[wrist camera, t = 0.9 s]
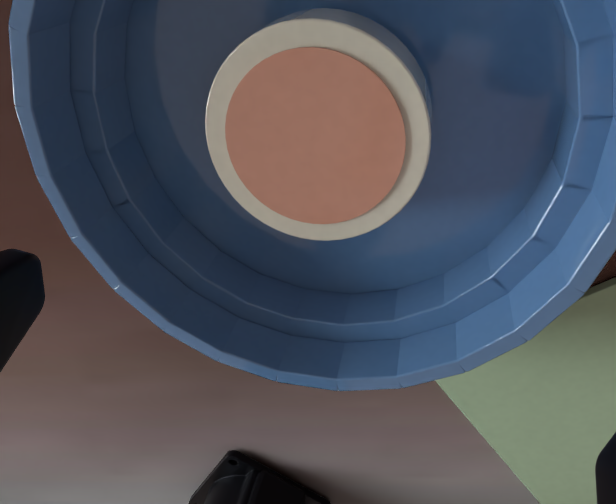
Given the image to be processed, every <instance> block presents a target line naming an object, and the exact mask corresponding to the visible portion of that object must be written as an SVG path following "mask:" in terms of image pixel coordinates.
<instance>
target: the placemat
mask: <svg viewBox="0 0 616 504" xmlns="http://www.w3.org/2000/svg"><path fill="white" fill-rule="evenodd" d="M435 381H436V382H437V383H438V385H439V386H440V387H441V388H442V389H443V390H444V392H445V393H446V394H447V395H448V396H449V397H450V399H451V400H452V401H453V402H454V403H455V404H456V406H457V407H458V408H459V409H460V410H461V411H462V413H463V414H464V415H465V416H466V417H467V418H468V420H469V421H470V422H471V423H472V424H473V425H474V427H475V428H476V429H477V430H478V431H479V433H480V434H481V435H482V436H483V437H484V438H485V440H486V441H487V442H488V443H489V444H490V445H491V447H492V448H493V449H494V450H495V451H496V452H497V454H498V455H499V456H500V457H501V458H502V459H503V461H504V462H505V463H506V464H507V465H508V466H509V468H510V469H511V470H512V471H513V472H514V473H515V475H516V476H517V477H518V478H519V479H520V480H521V482H522V483H523V484H524V485H525V486H526V487H527V489H528V490H529V491H530V492H531V493H532V494H533V496H534V497H535V498H536V499H537V500H538V501H539V503H540V504H597V495H596V477H595V466H596V461H597V458H598V455H599V454H600V452H601V451H602V449H603V448H604V447H605V445H606V444H607V443H608V441H609V440H610V439H611V437H612V436H613V435H614V434H615V432H616V277H615V278H612V279H610V280H608V281H605V282H603V283H601V284H598V285H596V286H594V287H591V288H589V289H588V290H587V292H585V294H584V295H583V296H582V297H581V298H580V299H578V300H577V301H576V302H575V303H574V304H573V305H571V306H570V307H569V308H568V309H567V310H565V311H564V312H563V313H562V314H561V315H560V316H558V317H557V318H556V319H555V320H554V321H552V322H551V323H550V324H549V325H548V326H546V327H545V328H544V329H543V330H542V331H541V332H539V333H538V334H537V335H536V336H535V337H533V338H532V339H531V340H530V341H527V342H526V343H524V344H522V345H520V346H518V347H516V348H514V349H512V350H510V351H508V352H506V353H504V354H502V355H500V356H498V357H496V358H494V359H492V360H490V361H488V362H486V363H484V364H482V365H480V366H478V367H476V368H474V369H472V370H470V371H468V372H465V373H462V374H458V375H454V376H450V377H446V378H442V379H438V380H435Z"/></svg>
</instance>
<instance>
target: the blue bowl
mask: <svg viewBox="0 0 616 504" xmlns="http://www.w3.org/2000/svg"><path fill="white" fill-rule="evenodd" d="M316 8H330V9H341V10H345V11H349V12H353V13H357V14H359V15H362V16H364V17H367V18H369V19H371V20H373V21H375V22H376V23H378V24H380V25H382V26H383V27H385V28H386V29H387V30H389V31H390V32H391V33H393V34H394V35H395V36H396V37H397V38H398V39H399V40H400V41H401V42H402V43H403V44H404V45H405V46H406V47H407V48H408V50H409V51H410V52H411V54H412V55H413V56H414V58H415V59H416V61H417V63H418V65H419V66H420V68H421V70H422V72H423V74H424V77H425V79H426V82H427V85H428V88H429V92H430V96H431V101H432V112H433V121H432V139H431V151H430V156H429V161H428V165H427V168H426V171H425V174H424V177H423V179H422V181H421V183H420V185H419V187H418V189H417V191H416V192H415V194H414V195H413V197H412V198H411V200H410V201H409V202H408V203H407V204H406V206H405V207H404V208H403V209H402V210H401V211H400V212H399V213H398V214H396V215H395V216H394V217H393V218H392V219H391V220H389V221H388V222H386V223H384V224H383V225H381V226H380V227H378V228H376V229H374V230H372V231H370V232H367V233H365V234H362V235H359V236H356V237H352V238H347V239H342V240H330V241H322V240H310V239H304V238H299V237H295V236H292V235H288V234H286V233H283V232H281V231H278V230H276V229H274V228H272V227H270V226H268V225H266V224H264V223H263V222H261V221H260V220H258V219H257V218H255V217H254V216H252V215H251V214H250V213H249V212H248V211H247V210H245V209H244V208H243V207H242V206H241V205H240V204H239V203H238V202H237V201H236V200H235V199H234V198H233V196H232V195H231V194H230V192H229V191H228V190H227V188H226V187H225V186H224V184H223V182H222V180H221V179H220V177H219V175H218V173H217V171H216V169H215V167H214V164H213V162H212V159H211V156H210V153H209V150H208V144H207V139H206V130H205V114H206V104H207V100H208V95H209V91H210V88H211V86H212V83H213V80H214V78H215V76H216V74H217V72H218V70H219V68H220V67H221V65H222V64H223V62H224V61H225V60H226V58H227V57H228V56H229V54H230V53H231V52H232V51H233V50H234V49H235V48H236V47H237V46H238V45H239V44H240V43H242V42H243V41H244V40H246V39H247V38H248V37H250V36H251V35H252V34H254V33H255V32H257V31H258V30H260V29H262V28H263V27H265V26H266V25H268V24H269V23H271V22H273V21H275V20H277V19H279V18H280V17H283V16H285V15H288V14H291V13H294V12H297V11H302V10H307V9H316ZM8 24H9V42H10V56H11V70H12V85H13V99H14V104H15V110H16V113H17V116H18V120H19V123H20V126H21V130H22V133H23V136H24V139H25V143H26V146H27V149H28V152H29V156H30V159H31V162H32V165H33V169H34V172H35V175H36V176H37V179H38V181H39V183H40V185H41V187H42V189H43V190H44V192H45V194H46V196H47V198H48V199H49V201H50V203H51V205H52V207H53V208H54V210H55V212H56V214H57V216H58V218H59V219H60V221H61V223H62V225H63V227H64V228H65V230H66V232H67V234H68V236H69V237H71V240H72V241H73V243H74V244H75V245H76V246H77V247H78V249H79V250H80V251H81V252H82V253H83V255H84V256H85V257H86V258H87V259H88V261H89V262H90V263H91V264H92V265H93V267H94V268H95V269H96V270H97V271H98V272H99V274H100V275H101V276H102V277H103V278H104V280H105V281H106V282H107V283H108V284H109V286H110V287H111V288H112V289H114V291H115V292H116V293H118V294H119V295H120V296H121V297H122V298H124V299H125V300H126V301H127V302H128V303H130V304H131V305H132V306H133V307H134V308H136V309H137V310H138V311H139V312H141V313H142V314H143V315H144V316H145V317H147V318H148V319H149V320H150V321H151V322H153V323H154V324H155V325H156V326H157V327H159V328H160V329H161V330H163V331H164V332H165V333H167V334H169V335H170V336H172V337H174V338H176V339H178V340H179V341H181V342H183V343H185V344H186V345H188V346H190V347H192V348H194V349H195V350H197V351H199V352H201V353H203V354H204V355H206V356H208V357H210V358H211V359H213V360H215V361H219V362H220V363H223V364H226V365H229V366H232V367H235V368H237V369H240V370H243V371H246V372H249V373H252V374H255V375H258V376H261V377H264V378H266V379H269V380H272V381H277V382H280V383H287V384H293V385H300V386H307V387H313V388H320V389H327V390H333V391H338V390H339V391H357V390H380V389H400V388H406V387H410V386H414V385H418V384H422V383H426V382H430V381H434V380H438V379H442V378H446V377H450V376H454V375H458V374H462V373H465V372H468V371H470V370H472V369H474V368H476V367H478V366H480V365H482V364H484V363H486V362H488V361H490V360H492V359H494V358H496V357H498V356H500V355H502V354H504V353H506V352H508V351H510V350H512V349H514V348H516V347H518V346H520V345H522V344H524V343H526V342H527V341H530V340H531V339H532V338H533V337H535V336H536V335H537V334H538V333H539V332H541V331H542V330H543V329H544V328H545V327H546V326H548V325H549V324H550V323H551V322H552V321H554V320H555V319H556V318H557V317H558V316H560V315H561V314H562V313H563V312H564V311H565V310H567V309H568V308H569V307H570V306H571V305H573V304H574V303H575V302H576V301H577V300H578V299H580V298H581V297H582V296H583V295H584V294H585V292H587V290H588V289H589V288H590V286H591V285H592V283H593V282H594V280H595V279H596V278H597V276H598V275H599V273H600V272H601V270H602V269H603V268H604V266H605V265H606V263H607V262H608V261H609V259H610V258H611V256H612V255H613V253H614V252H615V251H616V0H13V1H12V7H11V12H10V17H9V23H8Z"/></svg>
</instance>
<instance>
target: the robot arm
mask: <svg viewBox="0 0 616 504" xmlns="http://www.w3.org/2000/svg"><path fill="white" fill-rule="evenodd" d="M44 300H45V292H44V284H43V277H42V269H41V262H40V260H39V258H38V257H37V256H36V255H34V254H31V253H28V252H24V251H20V250H17V249H7V250H4V251H0V372H1V371H2V369H3V367H4V366H5V364H6V363H7V361H8V360H9V358H10V357H11V355H12V354H13V352H14V351H15V349H16V348H17V346H18V345H19V343H20V342H21V340H22V339H23V337H24V336H25V334H26V333H27V331H28V330H29V328H30V327H31V325H32V323H33V322H34V320H35V319H36V317H37V316H38V314H39V313H40V311H41V309H42V307H43V304H44ZM595 477H596V495H597V504H616V432H615V434H614V435H613V436H612V437H611V439H610V440H609V441H608V443H607V444H606V445H605V447H604V448H603V449H602V451H601V452H600V454H599V455H598V458H597V461H596V466H595ZM189 504H330V502H329V501H328V500H327V499H325V498H323V497H321V496H320V495H318V494H316V493H314V492H312V491H310V490H308V489H307V488H305V487H303V486H301V485H299V484H297V483H296V482H294V481H292V480H290V479H288V478H286V477H285V476H283V475H281V474H279V473H277V472H275V471H274V470H272V469H270V468H268V467H266V466H264V465H263V464H261V463H259V462H257V461H255V460H253V459H251V458H250V457H248V456H246V455H244V454H242V453H240V452H238V451H235V450H231V451H229V452H228V453H227V454H226V455H225V456H224V457H223V459H222V460H221V461H220V462H219V463H218V465H217V466H216V467H215V468H214V470H213V471H212V472H211V473H210V474H209V476H208V477H207V478H206V479H205V481H204V482H203V483H202V484H201V485H200V487H199V488H198V489H197V490H196V491H195V493H194V494H193V495H192V497H191V499H190V501H189Z"/></svg>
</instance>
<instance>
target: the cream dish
mask: <svg viewBox="0 0 616 504" xmlns="http://www.w3.org/2000/svg"><path fill="white" fill-rule="evenodd" d="M432 121H433V112H432V101H431V96H430V92H429V88H428V85H427V82H426V79H425V77H424V74H423V72H422V70H421V68H420V66H419V65H418V63H417V61H416V59H415V58H414V56H413V55H412V54H411V52H410V51H409V50H408V48H407V47H406V46H405V45H404V44H403V43H402V42H401V41H400V40H399V39H398V38H397V37H396V36H395V35H394V34H393V33H391V32H390V31H389V30H387V29H386V28H385V27H383V26H382V25H380V24H378V23H376V22H375V21H373V20H371V19H369V18H367V17H364V16H362V15H359V14H357V13H353V12H349V11H345V10H341V9H330V8H316V9H307V10H302V11H297V12H294V13H291V14H288V15H285V16H283V17H280V18H279V19H277V20H275V21H273V22H271V23H269V24H268V25H266V26H265V27H263V28H262V29H260V30H258V31H257V32H255V33H254V34H252V35H251V36H250V37H248V38H247V39H246V40H244V41H243V42H242V43H240V44H239V45H238V46H237V47H236V48H235V49H234V50H233V51H232V52H231V53H230V54H229V56H228V57H227V58H226V60H225V61H224V62H223V64H222V65H221V67H220V68H219V70H218V72H217V74H216V76H215V78H214V80H213V83H212V86H211V88H210V91H209V95H208V100H207V104H206V114H205V130H206V139H207V144H208V150H209V153H210V156H211V159H212V162H213V164H214V167H215V169H216V171H217V173H218V175H219V177H220V179H221V180H222V182H223V184H224V186H225V187H226V188H227V190H228V191H229V192H230V194H231V195H232V196H233V198H234V199H235V200H236V201H237V202H238V203H239V204H240V205H241V206H242V207H243V208H244V209H245V210H247V211H248V212H249V213H250V214H251V215H252V216H254V217H255V218H257V219H258V220H260V221H261V222H263V223H264V224H266V225H268V226H270V227H272V228H274V229H276V230H278V231H281V232H283V233H286V234H288V235H292V236H295V237H299V238H304V239H310V240H322V241H330V240H342V239H347V238H352V237H356V236H359V235H362V234H365V233H367V232H370V231H372V230H374V229H376V228H378V227H380V226H381V225H383V224H384V223H386V222H388V221H389V220H391V219H392V218H393V217H394V216H395V215H396V214H398V213H399V212H400V211H401V210H402V209H403V208H404V207H405V206H406V204H407V203H408V202H409V201H410V200H411V198H412V197H413V195H414V194H415V192H416V191H417V189H418V187H419V185H420V183H421V181H422V179H423V177H424V174H425V171H426V168H427V165H428V161H429V156H430V151H431V139H432Z"/></svg>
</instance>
